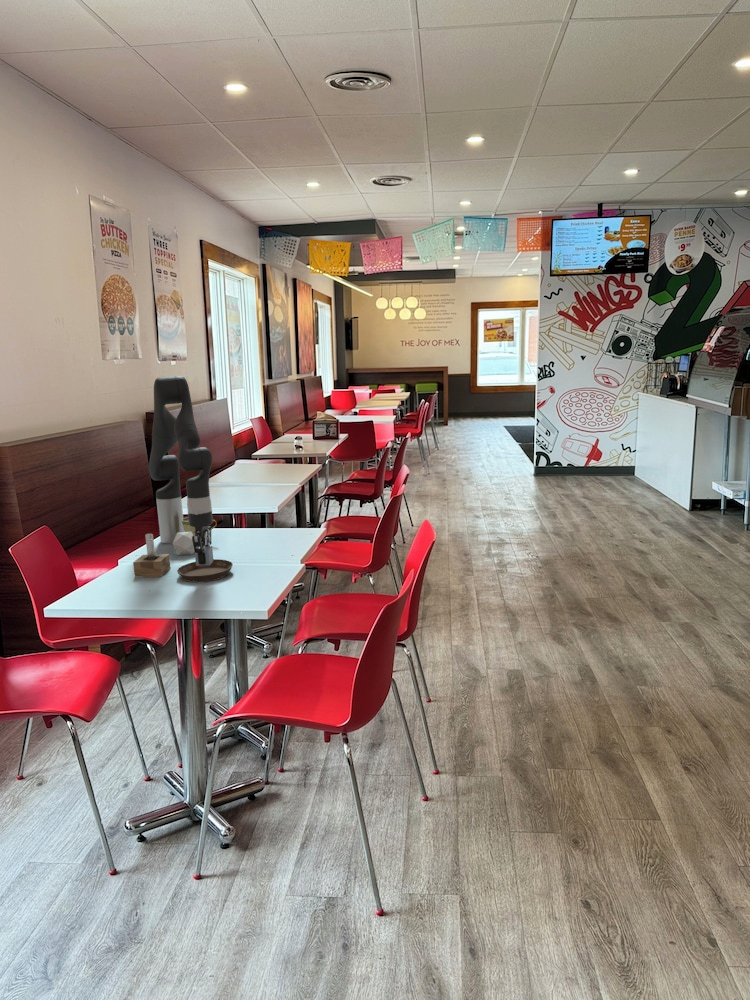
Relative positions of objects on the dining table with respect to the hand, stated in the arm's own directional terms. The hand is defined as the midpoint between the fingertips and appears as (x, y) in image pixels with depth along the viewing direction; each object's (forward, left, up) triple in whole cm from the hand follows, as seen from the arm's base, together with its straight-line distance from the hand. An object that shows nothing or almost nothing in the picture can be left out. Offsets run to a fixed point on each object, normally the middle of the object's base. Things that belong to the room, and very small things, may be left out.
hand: (204, 561), depth 242 cm
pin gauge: (-4, -19, -4) cm, 20 cm away
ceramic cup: (-40, -13, -5) cm, 42 cm away
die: (-27, -15, -5) cm, 31 cm away
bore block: (-4, -19, -5) cm, 20 cm away
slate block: (0, 0, -1) cm, 1 cm away
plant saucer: (0, 0, -5) cm, 5 cm away
